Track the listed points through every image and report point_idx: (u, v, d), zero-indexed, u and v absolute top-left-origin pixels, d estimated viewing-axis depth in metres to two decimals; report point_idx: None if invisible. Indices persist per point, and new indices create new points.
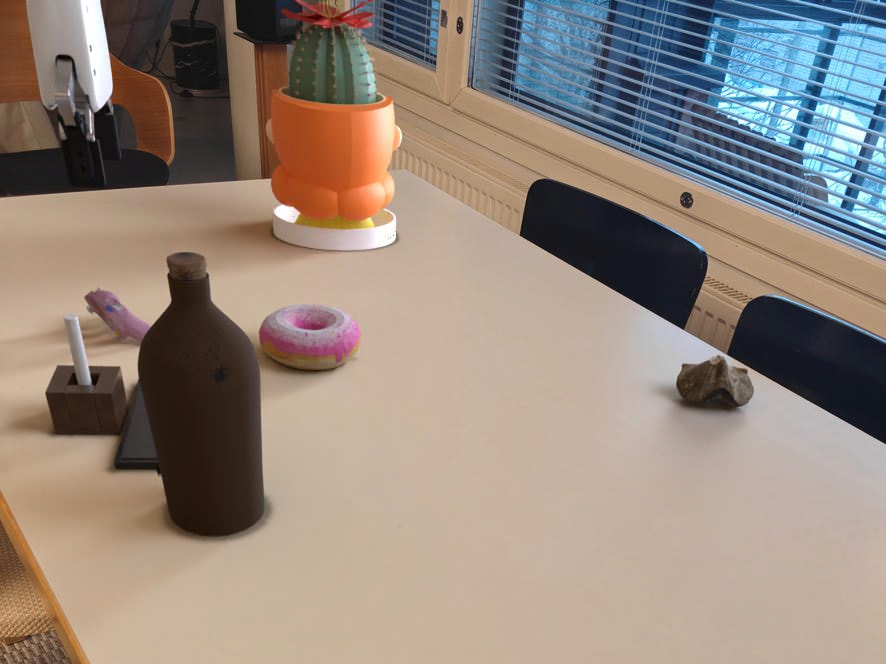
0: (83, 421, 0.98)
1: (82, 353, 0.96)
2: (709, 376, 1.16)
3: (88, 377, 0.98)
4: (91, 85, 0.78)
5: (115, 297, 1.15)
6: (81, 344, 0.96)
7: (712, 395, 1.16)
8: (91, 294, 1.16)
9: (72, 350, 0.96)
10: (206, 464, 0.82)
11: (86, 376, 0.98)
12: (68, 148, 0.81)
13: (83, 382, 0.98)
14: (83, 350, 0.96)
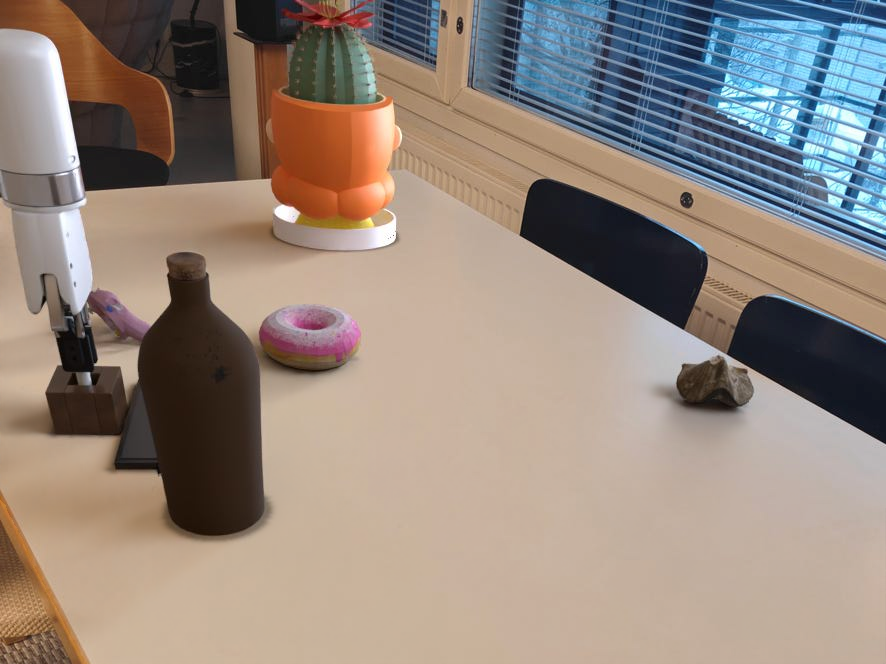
0: (83, 421, 0.98)
1: None
2: (709, 376, 1.16)
3: (88, 377, 0.98)
4: (72, 296, 0.88)
5: (115, 297, 1.15)
6: None
7: (712, 395, 1.16)
8: (91, 294, 1.16)
9: None
10: (206, 464, 0.82)
11: (86, 376, 0.98)
12: (62, 343, 0.94)
13: (83, 382, 0.98)
14: None
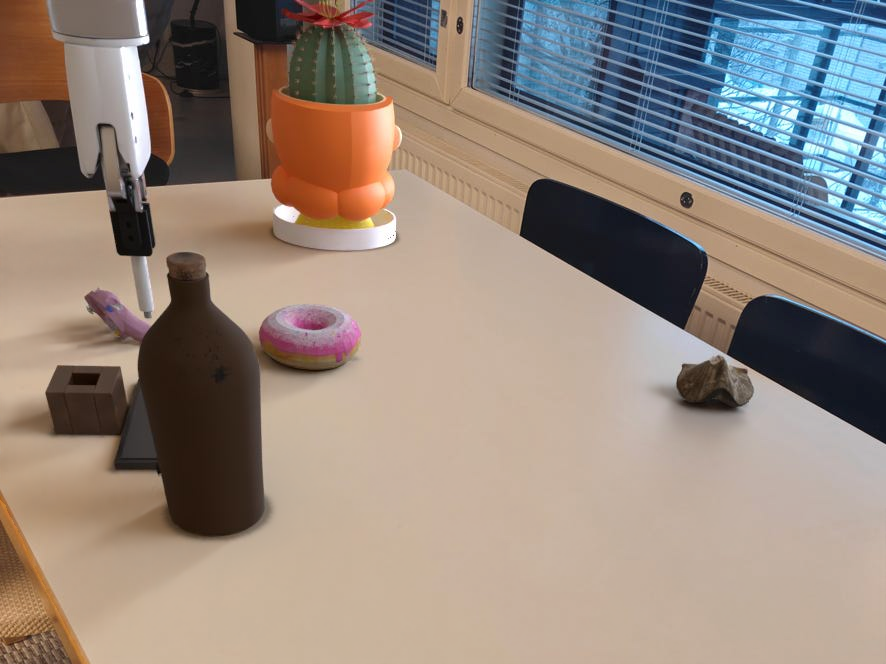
0: (83, 421, 0.98)
1: None
2: (709, 376, 1.16)
3: (145, 264, 0.85)
4: (132, 153, 0.75)
5: (115, 297, 1.15)
6: None
7: (712, 395, 1.16)
8: (91, 294, 1.16)
9: None
10: (206, 464, 0.82)
11: (143, 262, 0.85)
12: (116, 219, 0.82)
13: (139, 269, 0.85)
14: None
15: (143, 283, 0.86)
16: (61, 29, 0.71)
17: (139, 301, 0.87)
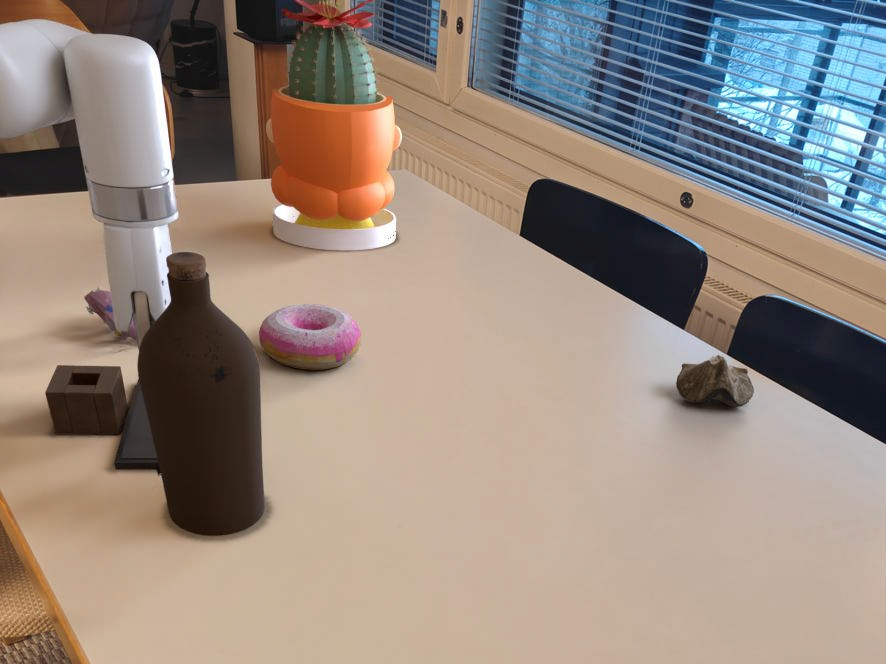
0: (83, 421, 0.98)
1: None
2: (709, 376, 1.16)
3: None
4: None
5: None
6: None
7: (712, 395, 1.16)
8: (91, 294, 1.16)
9: None
10: (206, 464, 0.82)
11: None
12: None
13: None
14: None
15: None
16: (101, 213, 0.79)
17: None
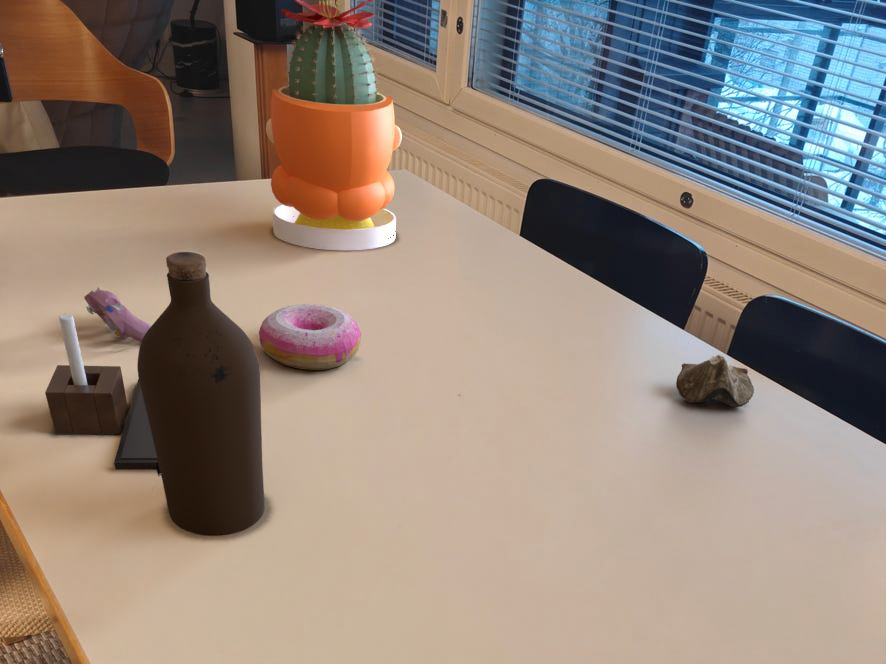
0: (83, 421, 0.98)
1: (77, 353, 0.96)
2: (709, 376, 1.16)
3: (84, 377, 0.98)
4: None
5: (115, 297, 1.15)
6: (77, 344, 0.96)
7: (712, 395, 1.16)
8: (91, 294, 1.16)
9: (67, 350, 0.96)
10: (206, 464, 0.82)
11: (82, 376, 0.98)
12: None
13: (78, 382, 0.98)
14: (78, 350, 0.96)
15: None
16: None
17: None
